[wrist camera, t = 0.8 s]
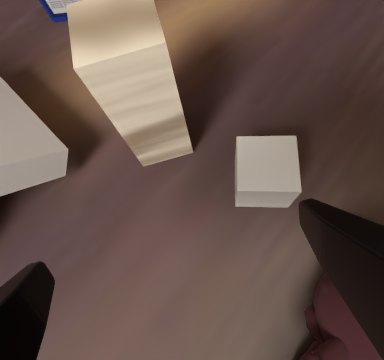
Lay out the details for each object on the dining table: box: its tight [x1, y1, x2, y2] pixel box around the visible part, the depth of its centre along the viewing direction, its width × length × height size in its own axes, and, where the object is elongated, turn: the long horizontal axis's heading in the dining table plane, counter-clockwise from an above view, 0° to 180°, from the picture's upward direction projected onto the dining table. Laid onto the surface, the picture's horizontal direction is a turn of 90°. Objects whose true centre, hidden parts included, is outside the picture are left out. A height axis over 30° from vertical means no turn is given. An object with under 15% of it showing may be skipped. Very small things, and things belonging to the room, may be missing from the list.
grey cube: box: [235, 136, 302, 207], centre depth 22 cm, size 4×4×4 cm
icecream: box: [299, 273, 382, 360], centre depth 17 cm, size 7×7×15 cm
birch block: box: [66, 0, 193, 166], centre depth 21 cm, size 5×5×13 cm
